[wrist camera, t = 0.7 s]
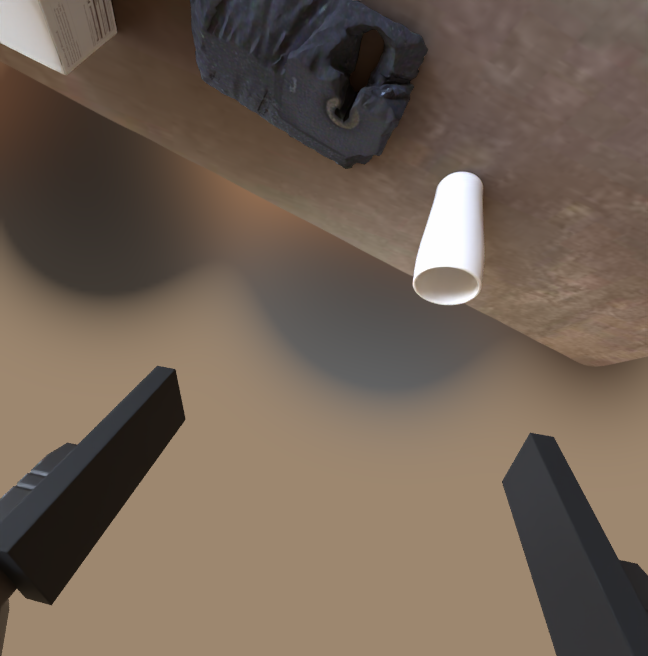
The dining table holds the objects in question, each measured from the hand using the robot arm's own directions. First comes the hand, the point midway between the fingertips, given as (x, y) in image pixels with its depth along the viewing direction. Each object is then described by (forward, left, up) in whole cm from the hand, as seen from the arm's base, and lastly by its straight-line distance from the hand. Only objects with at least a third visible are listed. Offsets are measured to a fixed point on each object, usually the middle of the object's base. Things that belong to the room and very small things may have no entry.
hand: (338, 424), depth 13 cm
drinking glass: (+16, +3, -34) cm, 38 cm away
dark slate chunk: (+1, -13, -34) cm, 37 cm away
